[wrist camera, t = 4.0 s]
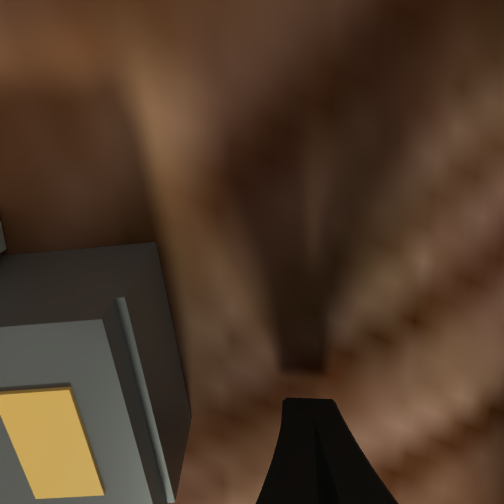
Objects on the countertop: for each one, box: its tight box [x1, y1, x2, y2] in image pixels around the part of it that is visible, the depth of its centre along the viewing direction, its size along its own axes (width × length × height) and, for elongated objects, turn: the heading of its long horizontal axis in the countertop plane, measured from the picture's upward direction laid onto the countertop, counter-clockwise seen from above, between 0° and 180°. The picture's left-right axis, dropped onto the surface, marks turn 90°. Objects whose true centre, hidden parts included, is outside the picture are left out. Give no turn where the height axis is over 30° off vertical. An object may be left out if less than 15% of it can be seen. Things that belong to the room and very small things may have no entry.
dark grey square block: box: [0, 242, 192, 504], centre depth 12 cm, size 7×6×4 cm
